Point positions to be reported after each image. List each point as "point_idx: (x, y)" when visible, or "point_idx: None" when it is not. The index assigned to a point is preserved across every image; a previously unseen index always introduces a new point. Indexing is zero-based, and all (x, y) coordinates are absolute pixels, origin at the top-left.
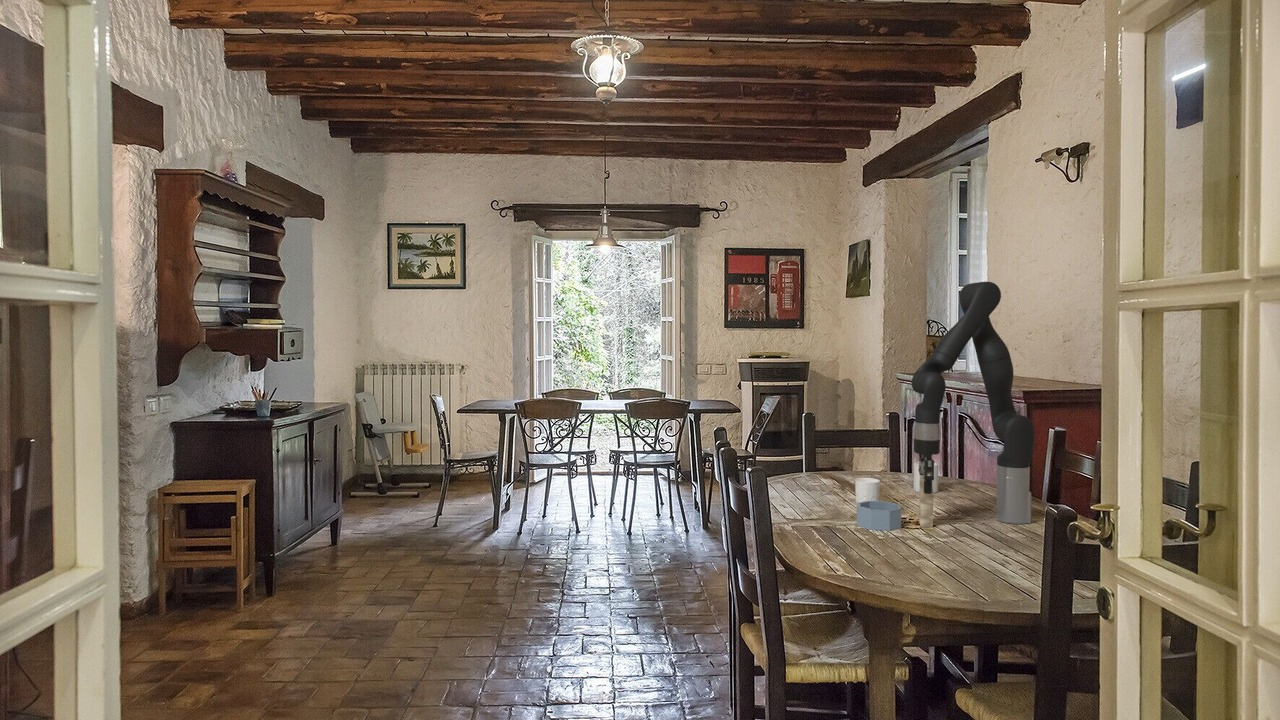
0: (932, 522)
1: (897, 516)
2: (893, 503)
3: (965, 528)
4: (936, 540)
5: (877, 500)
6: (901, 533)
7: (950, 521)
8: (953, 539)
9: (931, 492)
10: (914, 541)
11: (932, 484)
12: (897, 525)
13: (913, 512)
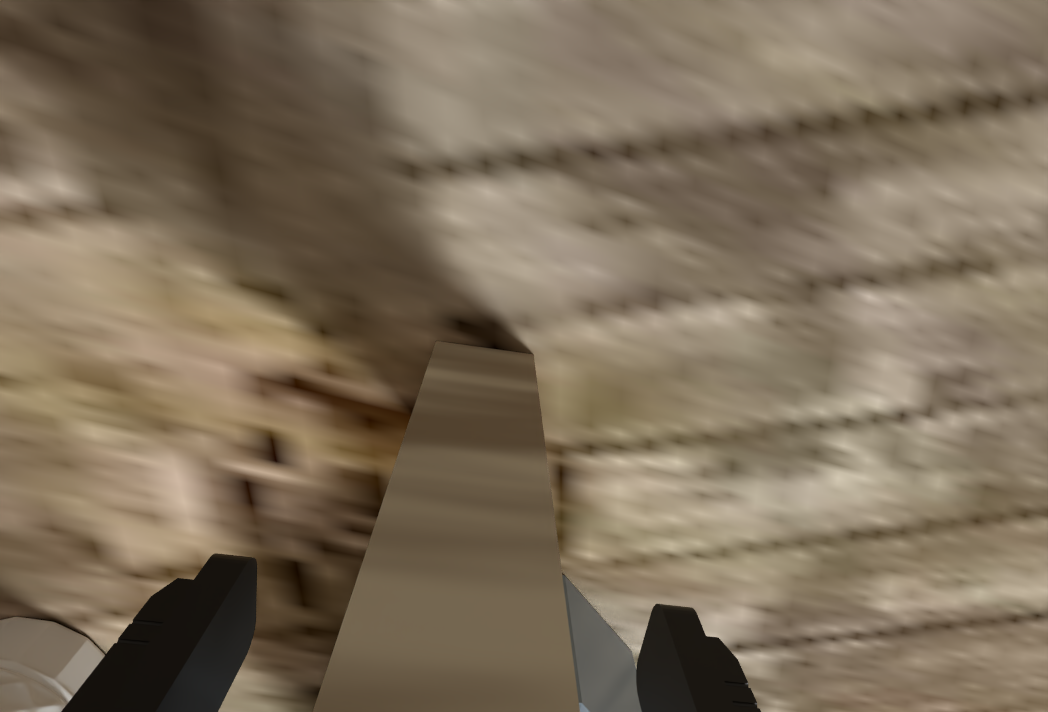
0: (533, 372)
1: (601, 677)
2: None
3: (565, 68)
4: (904, 434)
5: (2, 702)
6: (699, 600)
7: (300, 126)
8: (903, 306)
9: (692, 614)
10: (899, 571)
11: (567, 651)
12: (589, 619)
13: (4, 368)
